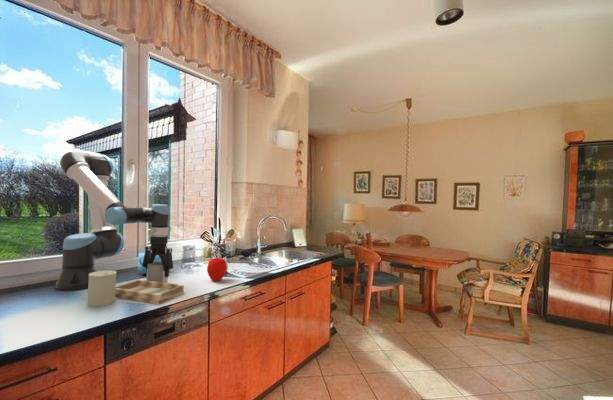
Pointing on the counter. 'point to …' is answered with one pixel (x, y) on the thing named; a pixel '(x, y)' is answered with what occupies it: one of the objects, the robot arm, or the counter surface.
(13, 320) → the counter surface
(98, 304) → the can
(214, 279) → the apple
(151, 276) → the cup
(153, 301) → the box
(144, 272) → the teapot
